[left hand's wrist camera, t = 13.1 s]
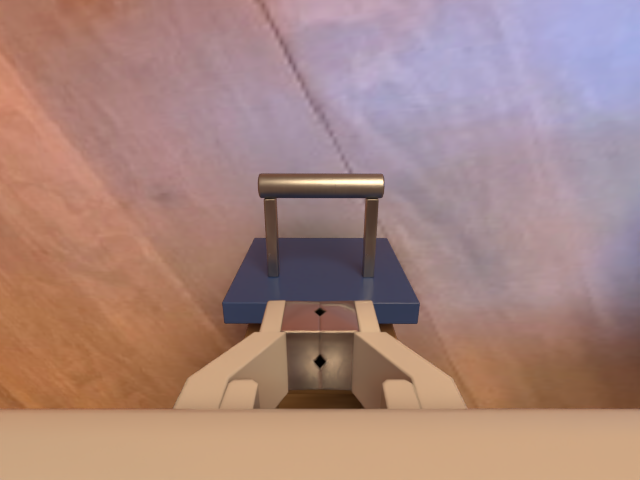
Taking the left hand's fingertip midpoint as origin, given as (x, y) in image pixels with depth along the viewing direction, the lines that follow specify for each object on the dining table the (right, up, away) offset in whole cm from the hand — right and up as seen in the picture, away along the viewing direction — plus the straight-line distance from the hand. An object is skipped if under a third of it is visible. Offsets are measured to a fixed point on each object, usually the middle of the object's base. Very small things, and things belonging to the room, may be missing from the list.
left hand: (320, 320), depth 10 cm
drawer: (0, -1, +16) cm, 16 cm away
